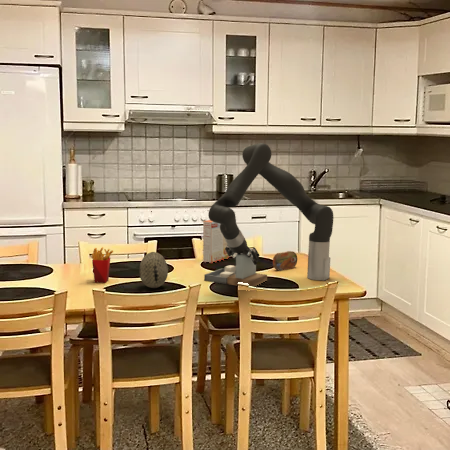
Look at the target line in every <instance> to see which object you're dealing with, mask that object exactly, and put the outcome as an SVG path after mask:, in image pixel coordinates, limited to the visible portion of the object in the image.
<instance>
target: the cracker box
mask: <svg viewBox="0 0 450 450" xmlns="http://www.w3.org/2000/svg"><path fill="white" fill-rule="evenodd" d="M202 230H203V232H202V233H203V236H202V237H203V240H202V242H203V243H202V248H203V249H202V250H203V251H202V255H203V257H202V258H203V259H202V261H203V263H206V262H209V263H208V264H214V263H213V262H215V263H218V262H217V261H219V262H222V261H221V260H223V261H225V260H224V259H228V258H229V259H230V256H228V254H227V252H226V250H225V248H226V246H227V243H226V241H225V238H224V236H223V234H222V233H221V230H220V224H219V223H215V222H212V221H211V220H210V219H208V220H203V229H202ZM229 259H228V260H229Z"/></svg>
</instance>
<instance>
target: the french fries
mask: <svg viewBox="0 0 450 450" xmlns="http://www.w3.org/2000/svg"><path fill="white" fill-rule="evenodd" d="M103 250H104V252H105V254H104V253H103ZM113 253H114V250H111V249H110V248H108V249H107V250H106V248H104V247H103V246H102V247H101V248H100V249H97V247H94V248H93V252H92V254H91V259H92V270H93V272H92V273H93V280H94V281H93V282H94V283H98V284H99V283H101V284H107V282H108V281H109V280H110V279H109V277H110V266H111V256H112V254H113Z"/></svg>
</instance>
